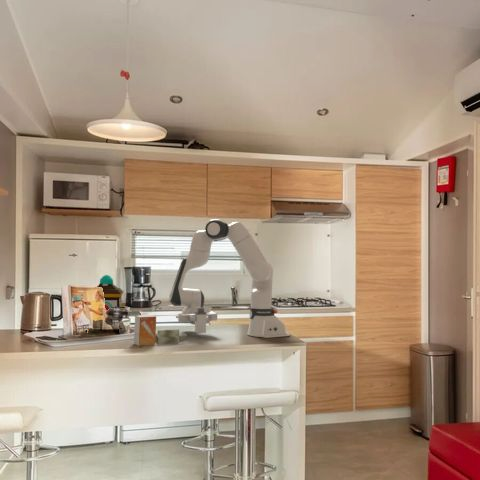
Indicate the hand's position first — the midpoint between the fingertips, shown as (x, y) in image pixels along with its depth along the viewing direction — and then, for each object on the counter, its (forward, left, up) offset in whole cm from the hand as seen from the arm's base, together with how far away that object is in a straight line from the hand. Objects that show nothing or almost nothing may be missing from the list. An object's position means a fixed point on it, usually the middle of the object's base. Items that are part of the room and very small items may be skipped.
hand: (200, 319), depth 223 cm
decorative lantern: (+44, -32, -10) cm, 56 cm away
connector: (0, -1, -7) cm, 7 cm away
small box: (+28, +9, -10) cm, 31 cm away
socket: (+17, +3, -10) cm, 20 cm away
